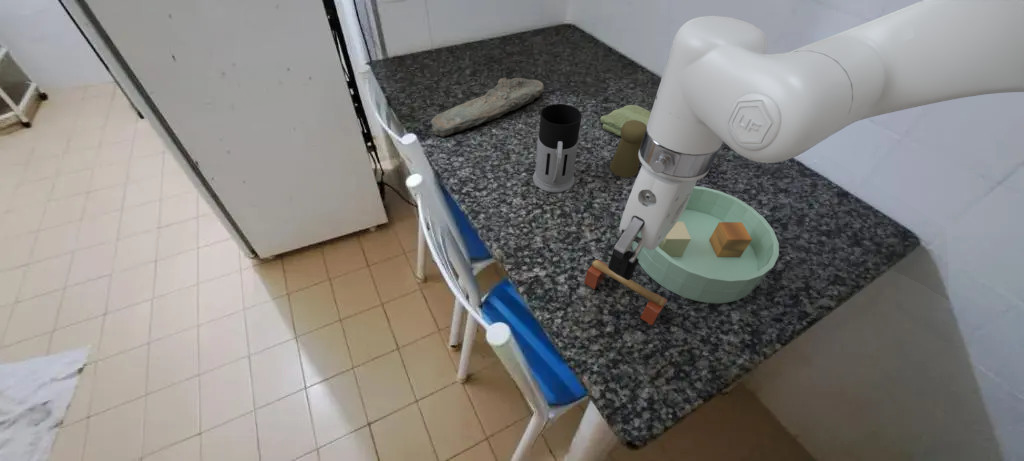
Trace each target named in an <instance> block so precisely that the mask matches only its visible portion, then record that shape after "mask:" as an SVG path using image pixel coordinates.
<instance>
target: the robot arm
mask: <svg viewBox="0 0 1024 461" xmlns="http://www.w3.org/2000/svg"><path fill="white" fill-rule="evenodd" d="M767 50H768V38H767V35H766V34H765V33H764V31H763V30H762V29H761V28H759V27H758V26H756V25H754V24H752V23H750V22H749V21H745V20H743V19H740V18H736V17H730V16H725V15H705V16H703V15H702V16H697V17H694V18H692V19H690V20H688V21H686V22H685V23H683V24H682V25H681V26H680V28H679V29H678V30H677V32H676V34H675V35H674V38H673V41H672V44H671V46H670V51H669V53H668V57H667V59H666V63H665V66H664V69H663V73H662V76H661V79H660V83H659V86H658V89H657V92H656V95H655V97H654V98H655V99H654V102H653V106H652V107H651V111H650V112H651V114H650V117H649V121H648V124H647V127H646V130H645V134H644V137H643V140H642V143H641V147H640V149H639V153H638V155H639V159H640V160H639V162H640V164H641V167H640V169H639V170H638V173H637V175H636V178H635V180H634V183H633V186H632V188H631V191H630V193H629V197H628V199H627V201H626V204H625V207H624V210H623V213H622V216H621V219H620V223H619V228H618V229H619V233H620V234H621V235H620V236H619V238H618V241H617V242H616V243H615V245H614V247H613V249H612V254H611V257H610V260H609V263H608V268H609V269H610V270H611V271H613V272H614V273H616V274H617V275H619V276H621V277H623V278H625V279H626V280H630V279H631V280H632V278H633V275H634V272H635V270H636V267H637V265H638V264H639V262H638V261H639V259H637V257H638V255H639V253H640V252H641V250H642V248H643V247H645V248H647V249H649V250H653V249H655V248H657V247H658V246H659V244H660V243H661V242H662V241H663V239H664V238H665V237H666V236H667V234H668V233H669V232H670V230H671V229H672V228H673V227H674V225H675V224H676V223H677V221H678V220H679V218H680V217H681V216H682V214H683V212H684V210H685V208H686V206H687V204H688V201H689V199H690V196H691V194H692V192H693V189H694V187H695V186H697V185H696V184H697V183H698V180H701V179H703V178H704V177H706V176H707V175H708V174H709V171H710V170H711V168H712V166H713V164H714V161H715V159H716V158H717V155H718V154H719V152H720V149H721V148H722V145H723V143H724V144H725V145H727V146H728V147H729V148H730V149H731V150H733V151H734V152H736V153H737V154H738V155H740V156H742V157H743V158H745V159H747V160H750V161H753V162H756V163H762V164H776V163H782V162H785V161H788V160H791V159H793V158H796V157H798V156H799V155H802V154H803V153H805V152H807V151H809V150H810V149H812V148H814V147H815V146H817V145H818V144H820V143H821V142H823V141H825V140H827V139H828V138H829V137H831V136H833V135H835V134H836V133H838V132H841V131H842V130H843V129H845V128H846V127H848V126H850V125H852V124H854V123H856V122H859V121H863V120H865V119H870V118H874V117H878V116H882V115H885V114H890V113H895V112H899V111H904V110H909V109H913V108H919V107H922V106H928V105H932V104H937V103H943V102H948V101H952V100H953V101H954V100H958V99H964V98H968V97H969V98H971V97H978V96H985V95H993V94H1004V93H1024V0H920V1H918V2H915V3H913V4H910V5H907V6H905V7H903V8H900V9H898V10H895V11H892V12H890V13H888V14H885V15H882V16H880V17H877V18H875V19H872V20H870V21H867V22H864V23H861V24H859V25H857V26H854V27H852V28H849V29H846V30H843V31H841V32H838V33H836V34H833V35H831V36H828V37H825V38H822V39H820V40H817V41H815V42H811V43H809V44H806V45H803V46H800V47H798V48H796V49H793V50H791V51H788V52H781V53H769V54H768V53H767ZM640 231H641V237H642V238H640V237H638V236H637V235H638V233H639V232H640ZM633 241H635V242H637V243H638V245H637V247H636V249H635V250H634V251H630V247H631V246H632V242H633Z"/></svg>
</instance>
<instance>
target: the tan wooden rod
mask: <svg viewBox="0 0 1024 461" xmlns="http://www.w3.org/2000/svg"><path fill="white" fill-rule="evenodd" d="M598 260H599V259H598ZM598 260H597V259H595V260H593V261H592V264H593V266H594V267H595V268H597V269H598V270H600V271H602V272H603V273H605V275H607V276H608V277H610V278H612V279H613V280H615V281H617V282H618V283H620V284H622V285H623V286H624V287H626V288H629V289H630V290H631V291H634V292H635V293H637V294H638V295H640V296H642V297H643V298H645V299H647V300H648V301H652V302H654V303H655V304H657V305H659V306H663V305H664V304H665V300H664V299H663V298H664V297H663V298H661V297H660V296H661V295H660V296H658V295H659V294H658V295H656V294H657V293H656V292H653V291H651V290H649V289H647V287H645V286H643V285H641V284H639V283H638V282H636V281H634V280H632V278H631V279H630V280H626V279H625V278H623V277H621V276H619V275H617V274H616V273H614V272H613V271H611V270H610V269H609V268H608V266H609V265H608V264H607V265H608V266H607V265H605V264H606V263H605V264H603V263H604V262H603V261H602V262H603V263H602V262H600V261H601V260H600V261H598ZM592 264H591V265H592ZM655 293H656V294H655ZM665 305H666V304H665Z"/></svg>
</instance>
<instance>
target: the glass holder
mask: <svg viewBox="0 0 1024 461" xmlns="http://www.w3.org/2000/svg"><path fill="white" fill-rule="evenodd" d="M582 117H583V115H582V112H581V111H580V110H579V109H578V108H577V107H575V106H573V105H570V104H565V103H553V104H549V105H546V106H545V107H543V108H542V109H541V111H540V118H539V128H538V129H539V130H538V133H537V145H536V158H535V160H536V161H535V171H534V172H533V175H532V181H533V183H534V184H535V186H536V187H537V188H539V189H541V190H542V191H545V192H550V193H561V192H565V191H568V190H570V189H571V188H572V187H573V186H574V184H575V175H574V173H575V167H576V161H577V160H576V159H577V154H578V148H579V142H580V129H581V123H582Z"/></svg>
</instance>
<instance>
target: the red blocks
mask: <svg viewBox="0 0 1024 461" xmlns="http://www.w3.org/2000/svg"><path fill="white" fill-rule="evenodd" d="M596 260H598V261H600V262H602V263H603V264H605V265H607V266H609V264H607V263H605V262H604V261H602V260H601V259H598V258H597V259H596ZM605 277H606V274H605V273H603V272H602V271H600V270H598V269H597V268H595V267H594V266H593V264H591V266H590V267H589V268H588V269H587V271H586V275H585V279H584V284H585V285H586V286H588V287H590V288H591V289H593V290H596V289H597V288H598V287H599V285H600V284H601V283H602V282H603V281H604V279H605ZM654 293H655V294H656V295H658V296H660V297H661V298H663V299H664V300H665V304H664V305H663V306H659V305H657V304H655V303H654V302H652V301H650V300H648V302H647V304H646V305H645V307H644V309H643V311H642V313H641V315H640V320H642V321H644V322H645V323H647V324H648V325H650V326H653V325H654V324H655V322H656V321H657V320H658V318H659V317H660V315H661V313H662V311H663V309H664V307H665V306H666V304H667V302H668V299H666V298H665V297H664V296H661V295H660V294H658V293H656V292H654Z"/></svg>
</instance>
